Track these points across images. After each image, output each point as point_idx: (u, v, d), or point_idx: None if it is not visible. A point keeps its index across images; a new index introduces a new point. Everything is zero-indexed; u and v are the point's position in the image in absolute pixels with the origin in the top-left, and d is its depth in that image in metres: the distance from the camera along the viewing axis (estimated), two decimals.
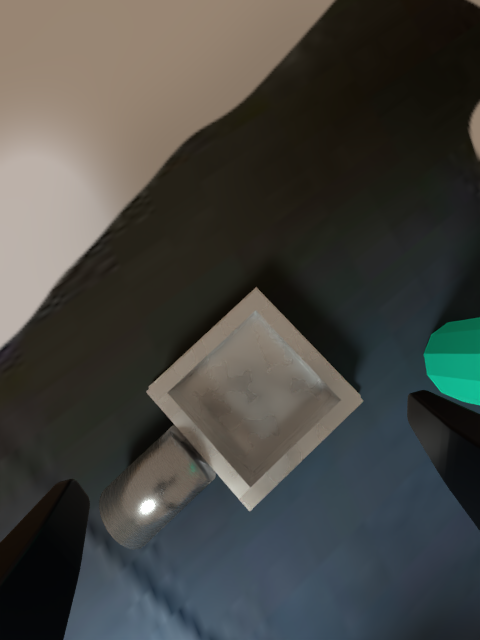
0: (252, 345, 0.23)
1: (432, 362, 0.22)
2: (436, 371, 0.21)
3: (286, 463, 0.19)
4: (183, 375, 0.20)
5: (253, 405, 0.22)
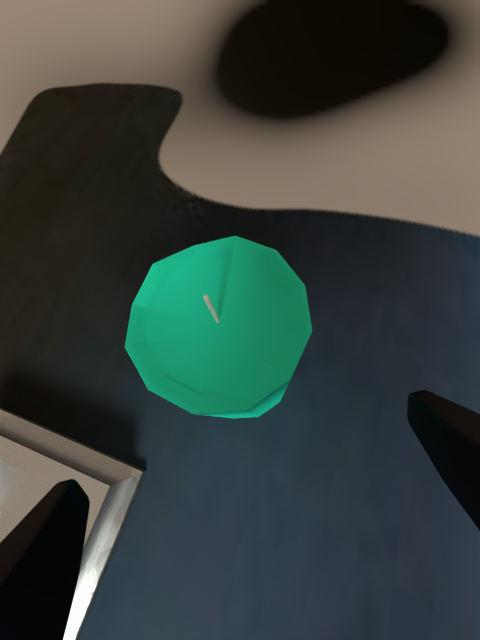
0: (3, 476, 0.18)
1: None
2: None
3: None
4: None
5: None
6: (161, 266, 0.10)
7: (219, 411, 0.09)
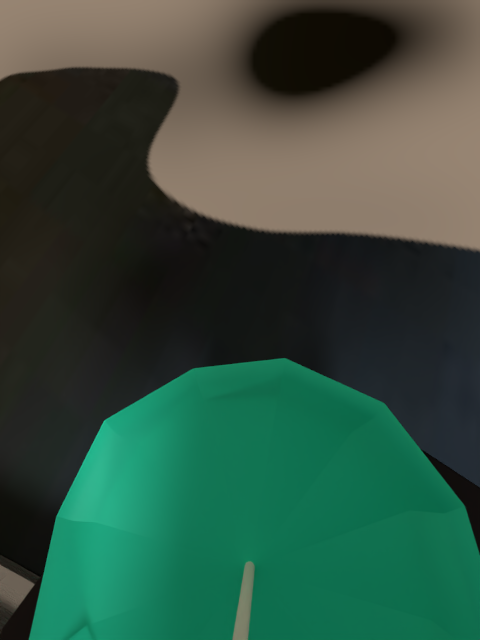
0: None
1: None
2: None
3: None
4: None
5: None
6: (122, 427, 0.05)
7: None
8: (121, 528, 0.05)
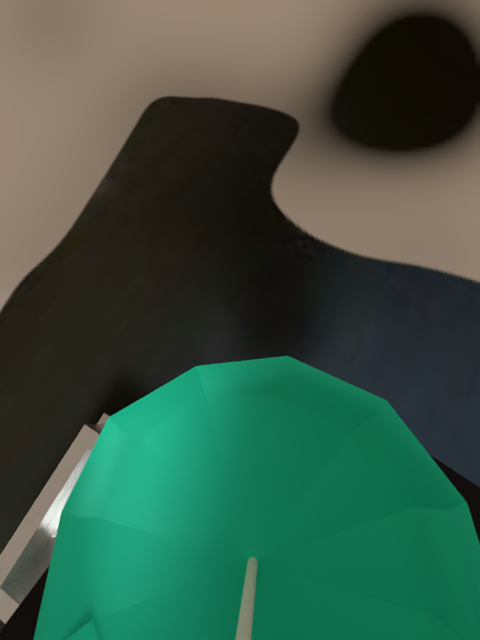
0: None
1: None
2: None
3: None
4: (16, 557, 0.17)
5: None
6: (126, 424, 0.05)
7: None
8: (125, 524, 0.05)
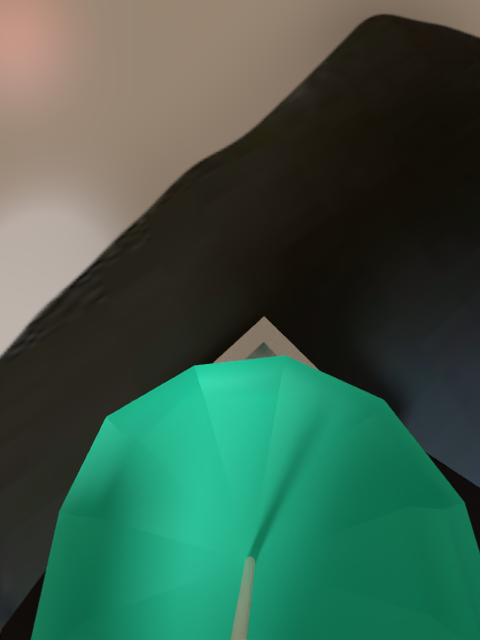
0: None
1: None
2: None
3: None
4: None
5: None
6: (124, 424, 0.05)
7: None
8: (123, 523, 0.05)
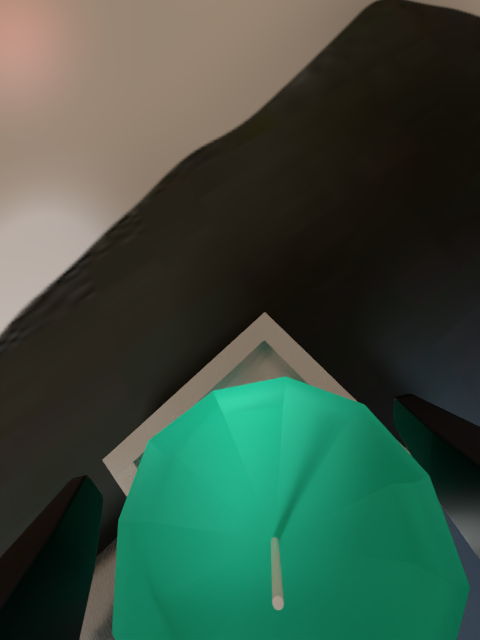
0: None
1: None
2: None
3: None
4: None
5: None
6: (164, 444, 0.06)
7: None
8: (170, 524, 0.06)
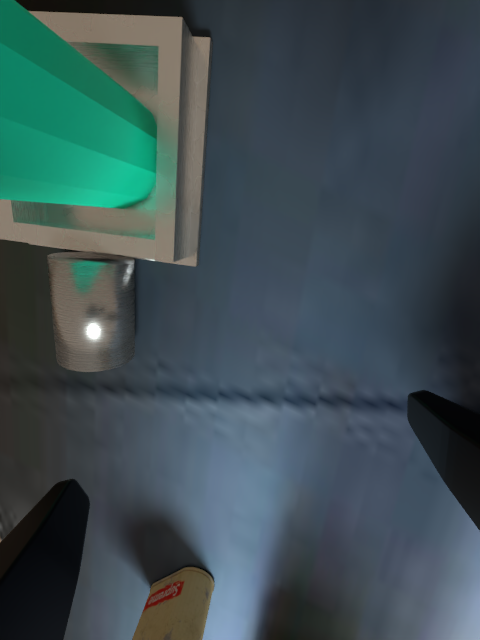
0: None
1: None
2: None
3: (165, 183, 0.15)
4: None
5: None
6: None
7: None
8: None
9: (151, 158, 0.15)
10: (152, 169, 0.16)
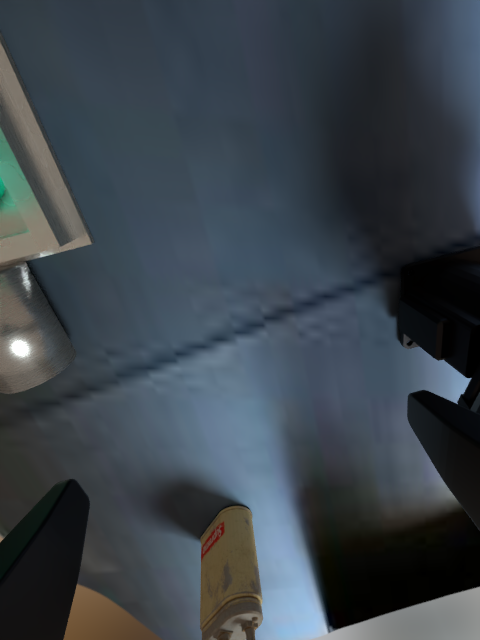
0: None
1: None
2: None
3: (7, 167, 0.13)
4: None
5: None
6: None
7: None
8: None
9: None
10: None
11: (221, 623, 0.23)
